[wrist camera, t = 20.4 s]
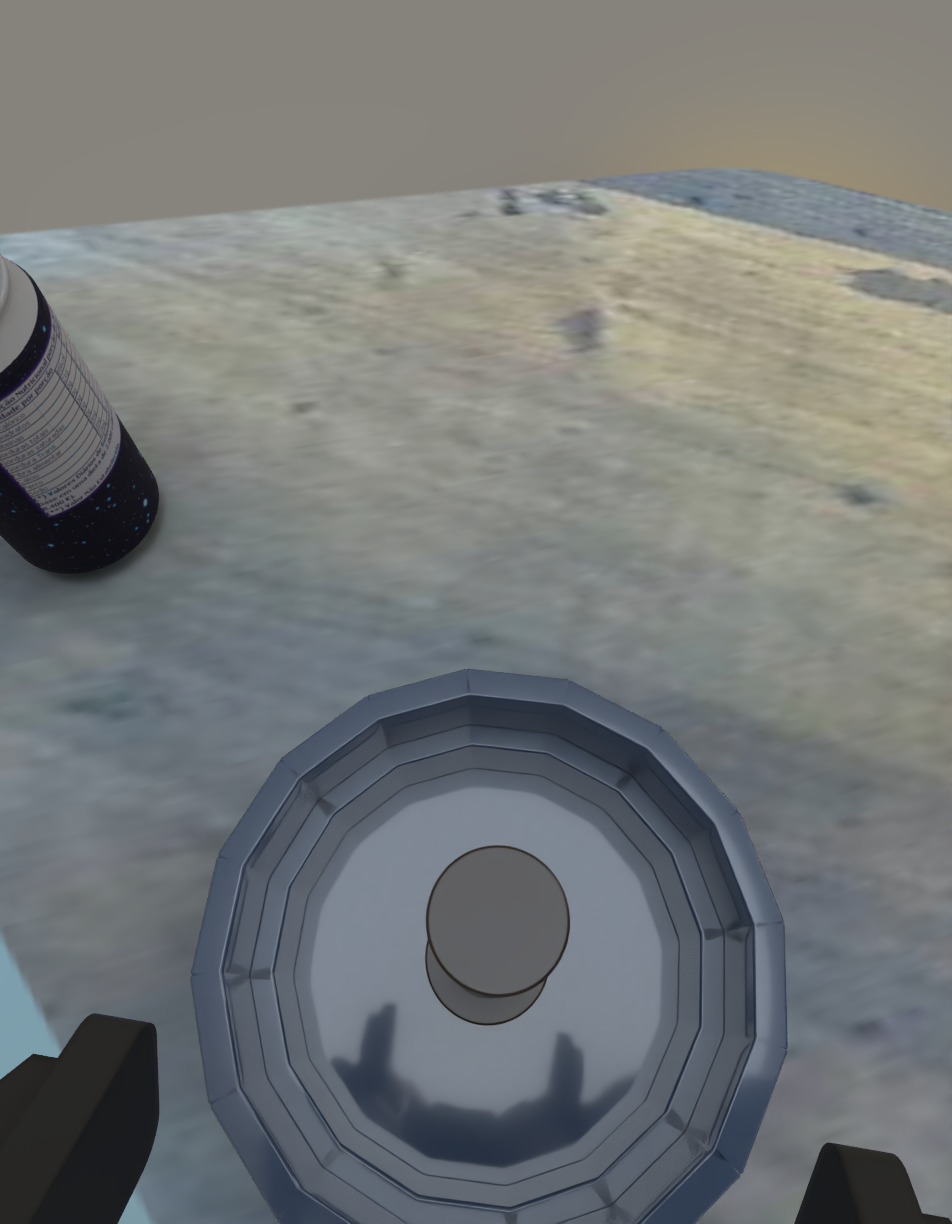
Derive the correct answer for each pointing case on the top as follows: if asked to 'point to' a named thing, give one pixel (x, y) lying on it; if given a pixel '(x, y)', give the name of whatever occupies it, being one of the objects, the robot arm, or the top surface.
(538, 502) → the top surface
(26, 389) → the beverage can
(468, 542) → the top surface
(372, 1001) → the bowl
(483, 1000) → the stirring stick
